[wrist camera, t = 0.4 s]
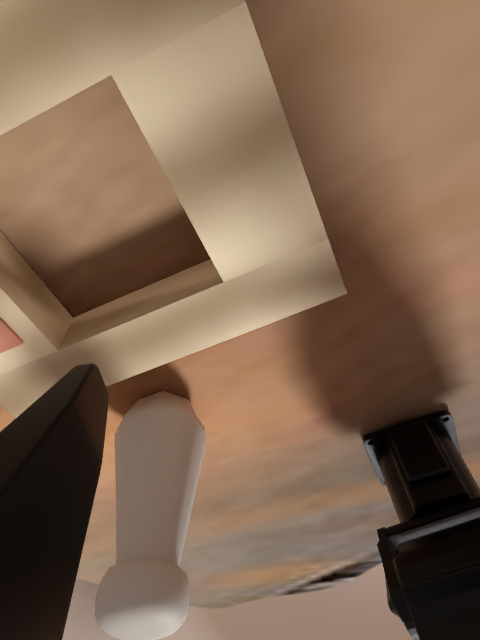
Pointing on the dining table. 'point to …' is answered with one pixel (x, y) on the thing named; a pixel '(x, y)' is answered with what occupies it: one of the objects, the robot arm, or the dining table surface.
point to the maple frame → (184, 176)
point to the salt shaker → (151, 518)
